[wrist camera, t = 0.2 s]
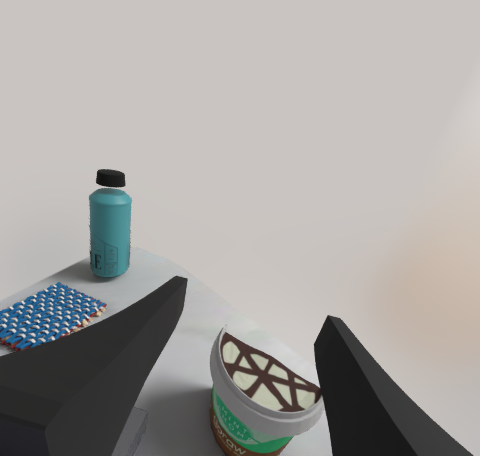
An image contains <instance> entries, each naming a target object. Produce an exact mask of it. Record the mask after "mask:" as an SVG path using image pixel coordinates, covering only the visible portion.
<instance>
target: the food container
mask: <svg viewBox="0 0 480 456" xmlns="http://www.w3.org/2000/svg"><path fill="white" fill-rule="evenodd" d="M226 326H227V324H226V325H225V327H224V328H222V330H221V331H220V333H219V335H218V336H217V338H216V340H215V342H214V344H213V347H212V351H211V355H210V370H211V376H212V379H213V389H212V397H211V405H210V421H211V428H212V431H213V434H214V436H215V439H216V442H217V443H218V445H219V446H220V448H221V449H222V451H223V452H224V453H225V454H226V455H227V456H278V455H279V454H280V453H281V452H282V450H283V449H284V448H285V447H286V445H287V444H288V443H289V441H290V440H291V439H292V438H293V436H295V435H299V434H301V433H303V432H305V431H308V430H309V429H310V428H311V427H312V426H314V425H315V424H316V422H317V421H318V420H319V418H320V417H321V415H322V412H323V410H324V402H323V398H322V393H321V388H319V387H318V386H316V385H315V384H313V383H310V382H308V381H307V380H305V379H303V378H302V377H300V376H298V375H297V374H295V373H294V372H292V371H291V370H290V369H288V368H287V367H286V366H284V365H283V364H282V363H280V362H279V361H278V360H276V359H275V358H273V357H272V356H270V355H268V354H266V353H264V352H262V351H260V350H257V349H255V348H253V347H251V346H249V345H247V344H245V343H243V342H241V341H240V340H238V339H236V338H235V337H233V336H232V335H230V334H228V333H227V332H226Z"/></svg>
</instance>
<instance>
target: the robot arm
mask: <svg viewBox="0 0 480 456" xmlns="http://www.w3.org/2000/svg"><path fill="white" fill-rule="evenodd" d="M187 280H188V279H187V278H183V277H179V276H175V277H173V278H172V279H170V280H169V281H168V282H166V283H165V284H163V285H162V286H160V287H159V288H158V289H156V290H155V291H153V292H152V293H150V294H149V295H147V296H146V297H144V298H142V299H141V300H139V301H137V302H136V303H134V304H132V305H131V306H129V307H127V308H126V309H124V310H122V311H120V312H118V313H116V314H114V315H112V316H110V317H108V318H106V319H104V320H102V321H100V322H98V323H96V324H93V325H91V326H88V327H86V328H84V329H81V330H79V331H77V332H74V333H72V334H69V335H66V336H63V337H61V338H58V339H55V340H52V341H49V342H46V343H43V344H40V345H37V346H34V347H31V348H28V349H24V350H21V351H17V352H14V353H10V354H7V355H3V356H0V456H112V453H113V451H114V449H115V446H116V444H117V442H118V440H119V437H120V435H121V433H122V431H123V428H124V426H125V424H126V422H127V420H128V417H129V415H130V413H131V411H132V409H133V406H134V404H135V402H136V400H137V398H138V396H139V393H140V391H141V389H142V387H143V385H144V383H145V381H146V379H147V377H148V375H149V373H150V371H151V370H152V368H153V366H154V364H155V363H156V361H157V359H158V357H159V356H160V354H161V352H162V350H163V349H164V347H165V345H166V343H167V342H168V340H169V338H170V336H171V335H172V333H173V331H174V329H175V327H176V325H177V323H178V321H179V318H180V316H181V314H182V311H183V307H184V300H185V294H186V287H187ZM314 352H315V362H316V369H317V374H318V379H319V384H320V388H321V393H322V398H323V402H324V407H325V411H326V416H327V421H328V426H329V432H330V439H331V446H332V454H333V456H473V455H472V454H471V453H470V452H469V451H467V450H466V449H465V448H464V447H463V446H461V445H460V444H459V443H458V442H457V441H455V439H453V438H452V437H451V436H450V435H449V434H448V433H447V432H445V430H443V429H442V428H441V427H440V426H439V425H438V424H437V423H436V422H434V421H433V420H432V419H431V418H430V417H429V416H428V415H427V414H426V413H425V412H424V411H423V410H422V409H421V408H420V407H418V406H417V404H416V403H415V402H414V401H412V399H411V398H409V397H408V396H407V395H406V394H405V392H404V391H402V389H401V388H400V387H399V386H398V385H397V384H396V383H395V382H394V381H393V380H392V379H391V378H390V376H389V375H388V374H387V373H386V372H385V371H384V370H383V369H382V368H381V366H380V365H379V364H378V363H377V362H376V361H375V360H374V358H373V357H372V356H371V355H370V354H369V352H368V351H367V350H366V349H365V348H364V346H363V345H362V344H361V343H360V342H359V340H358V339H357V338H356V337H355V335H354V334H353V333H352V332H351V330H350V329H349V328H348V327H347V326H346V324H345V323H344V322H343V321H342V320H341V319H340V318H337V317H333V316H329V315H328V316H327V318H326V320H325V322H324V324H323V327H322V329H321V331H320V333H319V335H318V337H317V339H316V341H315V343H314Z"/></svg>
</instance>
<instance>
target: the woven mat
mask: <svg viewBox="0 0 480 456" xmlns="http://www.w3.org/2000/svg"><path fill="white" fill-rule="evenodd" d="M60 284H61V283H60V282H58V283H57V284H56V285H50V287H48V288H47V289H43V291H41V292H38V293H37V292H36V293H35V294H36V295H31V296H30V297H28V298H26V300H25V301H20V302H19V303H16V304H14V305H13V306H12V307H8V308H9V309H5V310H2V311H0V330H1V331H0V339H1V340H3V341H1V344H6V345H7V346H8V345H12V346H11V348H12V349H14V348H16V349H15V350H16V351H19V350H24V349H28V348H31V347H34V346H37V345H40V344H43V343H46V342H49V341H52V340H55V339H58V338H61V337H63V336H66V335H69V334H70V332H72V331H74V332H77V331H79V330H81V329H79V328H78V327H82V326H83V327H85V326H86V325H88V321H92V320H93V319H92V318H91V317H92V316H96V317H98V316H100V315H101V312H99V311H102V312H104V311H105V310H106V309H104V307H106V305H107V304H105V303H102V302H100V300H97V301H96V299H93V297H89V298H88V296H87V295H84V293H80V292H76V291H77V290H75V289H74V290H73V291H72V289H71V288H68V286H65V285H62V284H61V285H60ZM63 287H64V288H63ZM67 288H68V289H67ZM45 293H46V294H45ZM99 302H100V303H99ZM20 305H21V306H20ZM56 306H57V307H56ZM12 334H13V335H12Z"/></svg>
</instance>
